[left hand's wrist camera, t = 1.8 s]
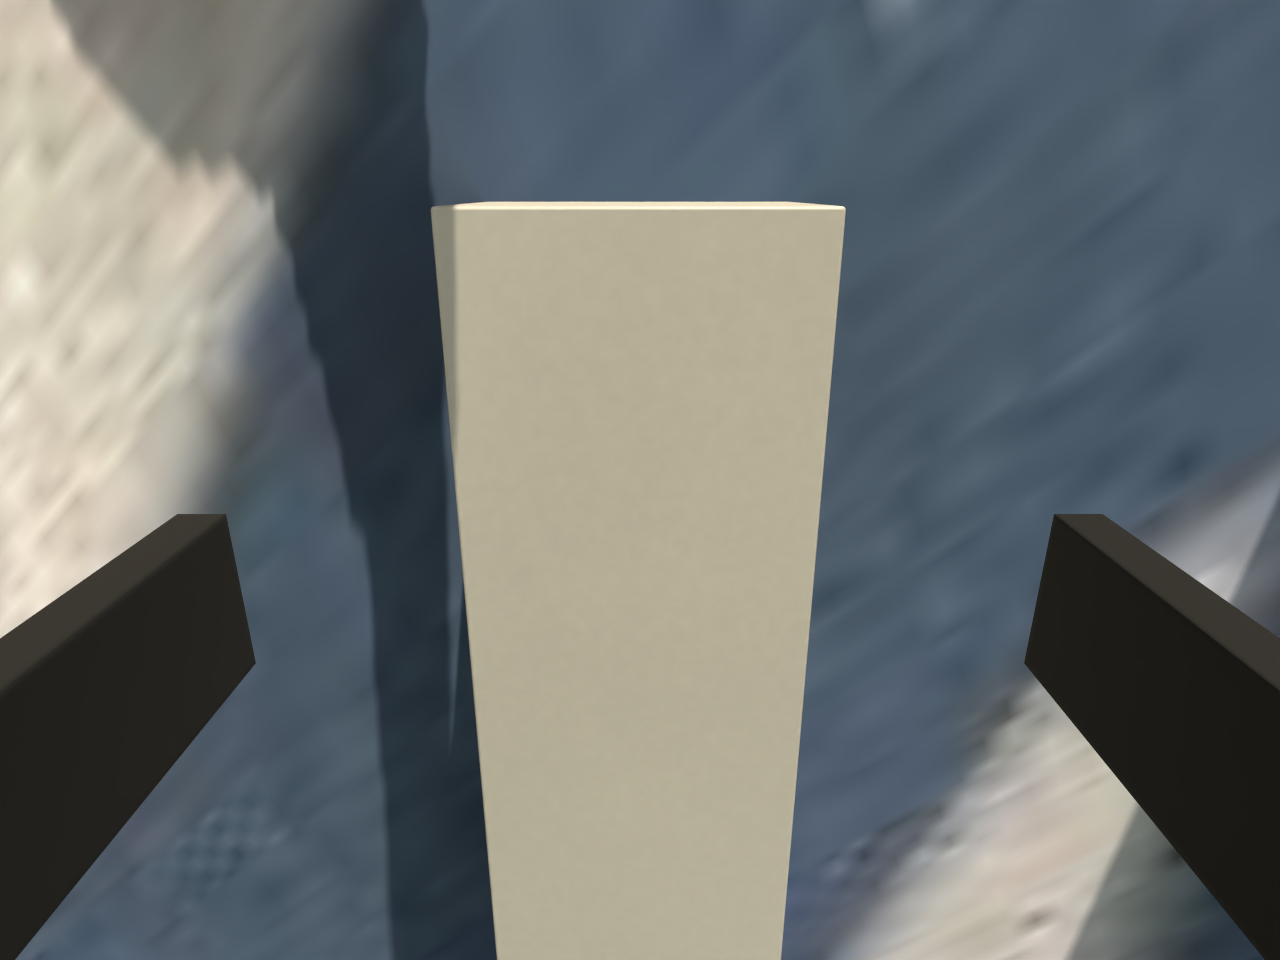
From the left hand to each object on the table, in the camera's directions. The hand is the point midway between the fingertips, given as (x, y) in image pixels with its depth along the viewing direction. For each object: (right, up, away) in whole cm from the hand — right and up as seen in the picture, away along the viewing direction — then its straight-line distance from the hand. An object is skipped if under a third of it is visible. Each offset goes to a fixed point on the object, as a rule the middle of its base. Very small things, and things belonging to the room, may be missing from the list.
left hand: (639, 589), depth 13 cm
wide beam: (0, -21, +23) cm, 31 cm away
